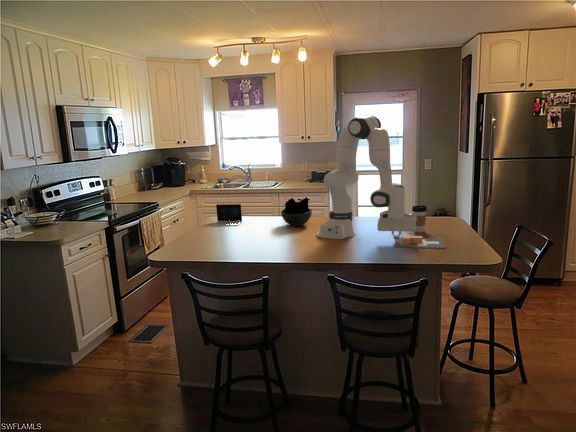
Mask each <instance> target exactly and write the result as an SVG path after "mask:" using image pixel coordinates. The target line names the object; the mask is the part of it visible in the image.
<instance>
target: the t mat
mask: <svg viewBox="0 0 576 432" xmlns="http://www.w3.org/2000/svg"><path fill="white" fill-rule="evenodd" d="M394 244H395V245H394V246H395V248H397V249H398V248H399V249H402V248H403V249H404V248H405V249H441V250H443V249H445V250H446V249H447V247H446V245H445V242H444V239H443V238H442V237H422V243H410V245H403V237H401V236H399V239H394Z"/></svg>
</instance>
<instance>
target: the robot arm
mask: <svg viewBox="0 0 576 432" xmlns="http://www.w3.org/2000/svg"><path fill="white" fill-rule="evenodd" d="M360 139H361V140H366V141H367V143H368V157H369V162H370V163H371V165H373V167H376V169H377V170H378V173H379V180H380V182H379V183H380V187H379V189H376V190H375V191H373V192H372V193H371V194H370V199H369V200H370V204H371V205H372V206H373V207H375V208H386V207H387V210H384V211H381V212H380V213H379V218H378V221H377V226H376V227H377V228H376V229H377V231H378V232H391V234H392V236H393V239H394V240H395V239H399V237H401V234H402V232H415V230H416V223H415V222H416V221H417V217H416V215H414V214H413V213H406V206H405V202H406V189H405V186H404V185H402V184H401V183H394V182H393V178H392V176H393V175H392V168H391V143H390V137H389V133H388V131H387V130H386V129H385V128H382V123H381V120H380V119H379V118H378V117H377V116H374V115H363V116H357V117H354V118H352V119H351V120H350V121H349V122H348V124H347V125H345V126H344V127H342V129H341V132H340V134H339V139H338V141H337V147H336V153H335V159H336V161H337V162H338V169H334V170H331V171H329V172H328V173H325V175H324V178H323V184H324V186H325V188H327V189H328V190H329V193H330V196H331V202H332V203H331V204H332V210H330V211H329V212H328V213H329V214H328V217H329V218H328V219H326V220H325V221H323V222H322V224H320V228H319V230H318V231H317V232H316V235H315V237H317V238H319V237H321V239H334V240H335V239H337V240H343V239H347V238H352V237H354V236H355V235H356V234H355V231H354V227H353V217H354V215H353V211H352V197H351V196H350V195H349V193H348V191H347V190H348V189H347V188H348V187H352V186H353V185H355V184H356V183H357V182H358V180H359V173H358V171H357V169H356V158H357V152H358V147H359V141H360ZM395 232H398V234H397V235H396V234H395Z"/></svg>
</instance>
